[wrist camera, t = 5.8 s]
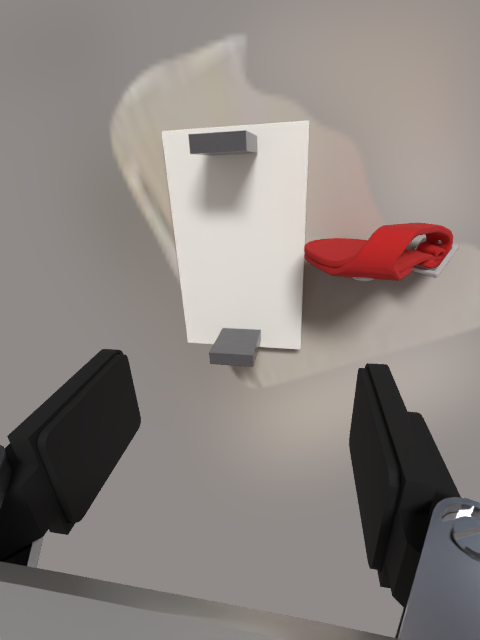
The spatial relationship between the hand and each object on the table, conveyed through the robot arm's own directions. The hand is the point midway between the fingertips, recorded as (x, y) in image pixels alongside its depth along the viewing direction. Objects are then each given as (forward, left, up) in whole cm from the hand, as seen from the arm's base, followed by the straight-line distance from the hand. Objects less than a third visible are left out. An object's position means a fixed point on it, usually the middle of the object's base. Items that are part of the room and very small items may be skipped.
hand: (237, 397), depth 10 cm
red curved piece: (-8, -1, -23) cm, 24 cm away
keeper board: (+4, 0, -23) cm, 23 cm away
